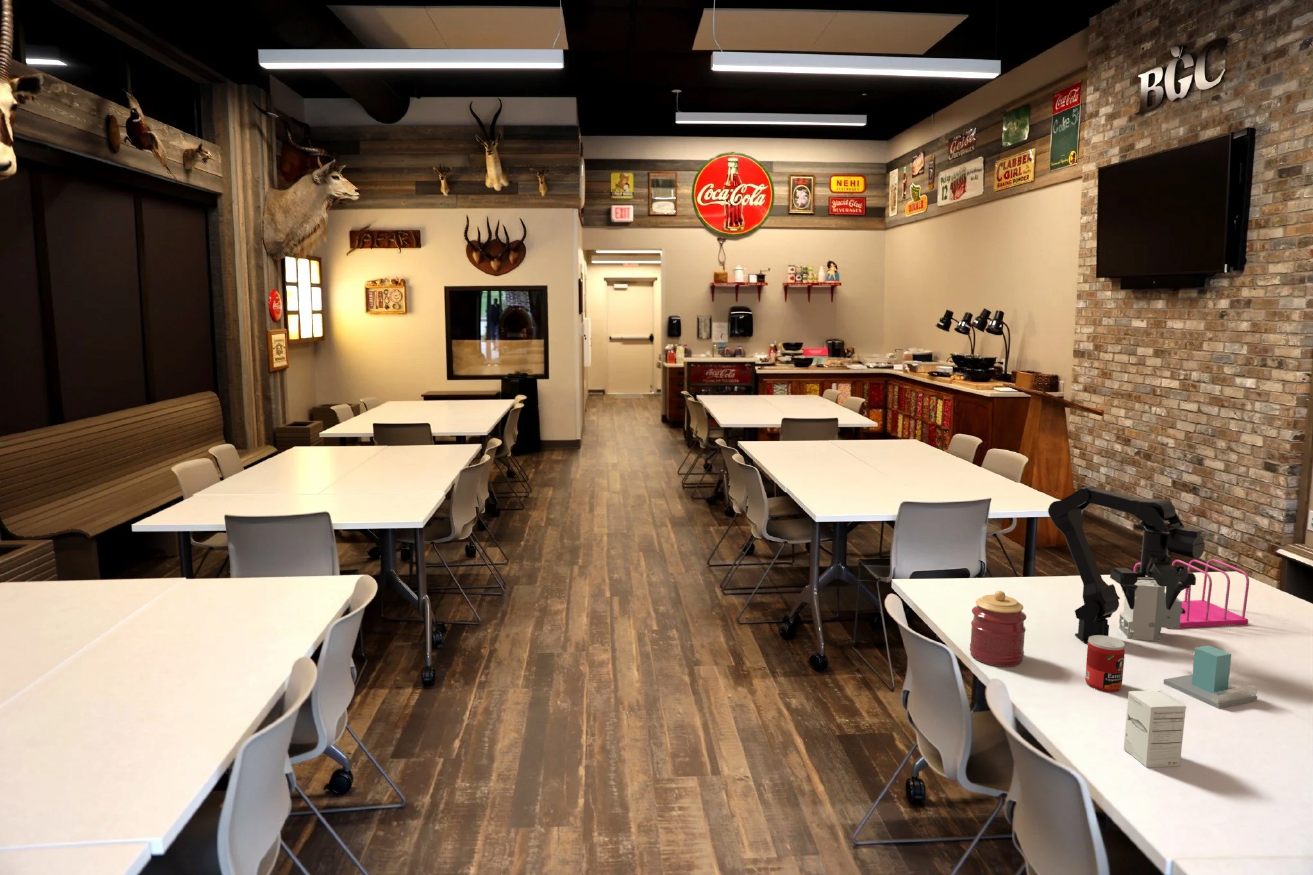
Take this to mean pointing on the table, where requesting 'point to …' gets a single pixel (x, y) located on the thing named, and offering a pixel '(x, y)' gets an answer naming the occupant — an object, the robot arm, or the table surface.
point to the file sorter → (1204, 611)
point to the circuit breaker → (1149, 612)
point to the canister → (998, 630)
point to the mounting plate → (1216, 698)
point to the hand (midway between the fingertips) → (1149, 609)
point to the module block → (1211, 669)
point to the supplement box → (1154, 728)
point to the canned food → (1105, 663)
